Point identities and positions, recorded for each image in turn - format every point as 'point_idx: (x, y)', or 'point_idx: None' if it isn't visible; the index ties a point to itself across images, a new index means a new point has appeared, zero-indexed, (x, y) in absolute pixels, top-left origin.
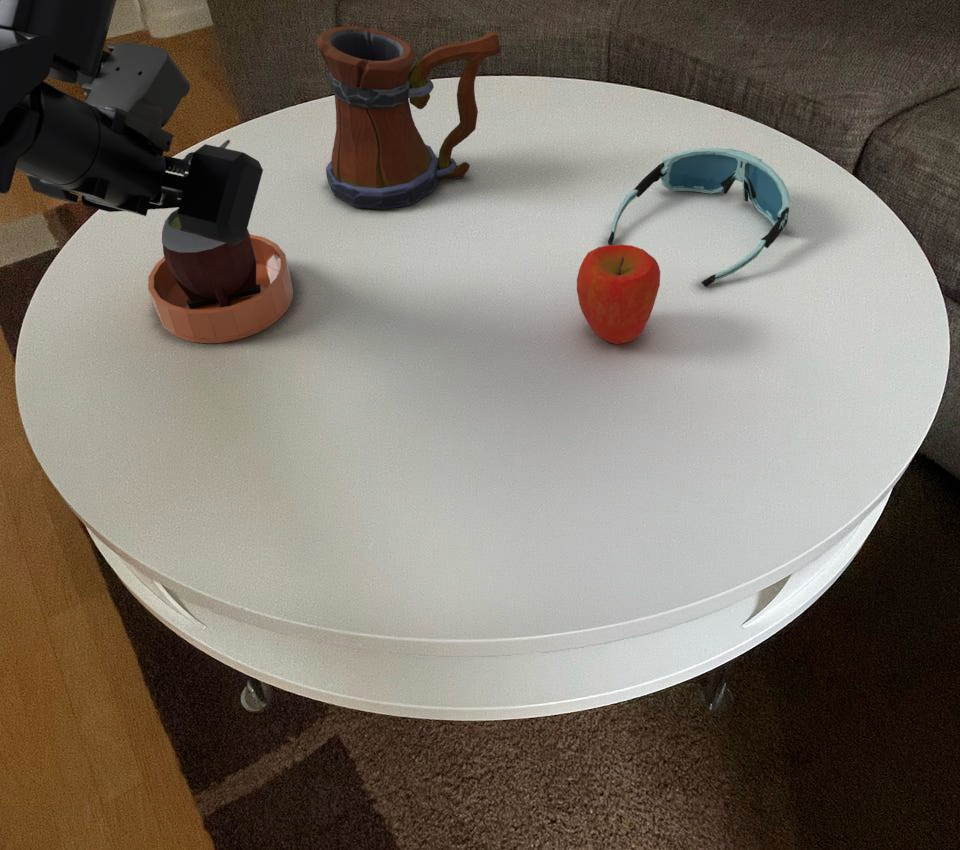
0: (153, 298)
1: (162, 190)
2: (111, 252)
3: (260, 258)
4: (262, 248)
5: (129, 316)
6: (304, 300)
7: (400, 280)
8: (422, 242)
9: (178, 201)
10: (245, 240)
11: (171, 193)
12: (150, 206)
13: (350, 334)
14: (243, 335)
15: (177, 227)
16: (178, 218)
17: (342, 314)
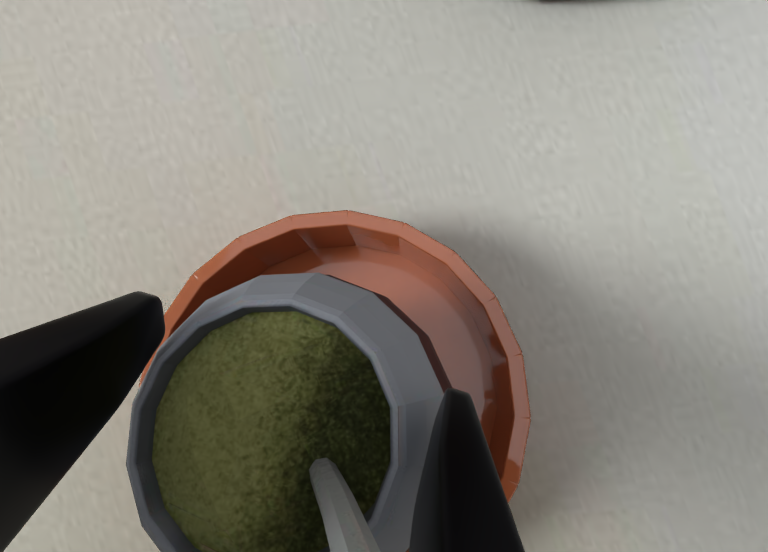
0: None
1: (40, 416)
2: (8, 230)
3: (387, 248)
4: (401, 245)
5: None
6: (534, 369)
7: (745, 265)
8: (744, 109)
9: (142, 346)
10: None
11: (95, 373)
12: (22, 517)
13: (699, 495)
14: None
15: (195, 511)
16: (176, 429)
17: (649, 416)
